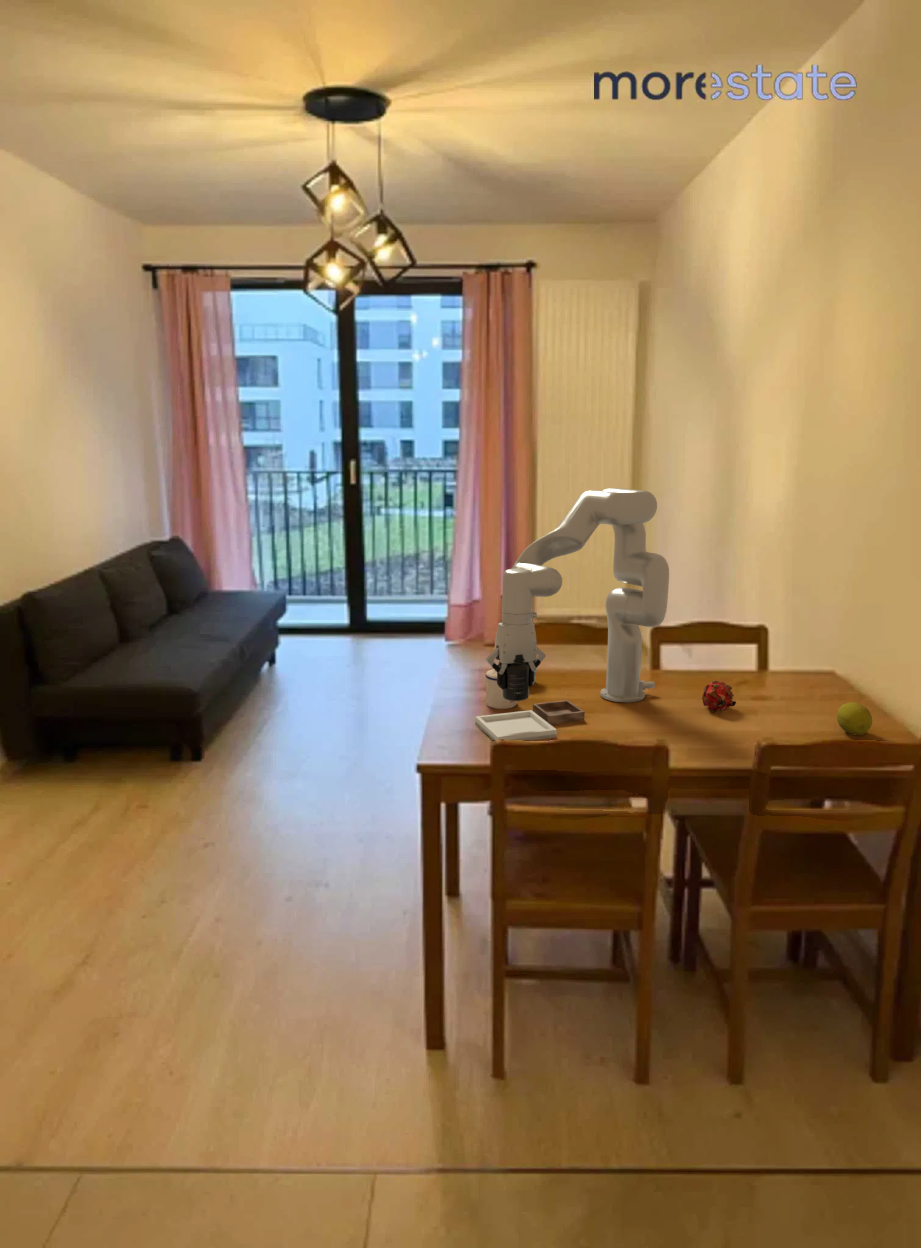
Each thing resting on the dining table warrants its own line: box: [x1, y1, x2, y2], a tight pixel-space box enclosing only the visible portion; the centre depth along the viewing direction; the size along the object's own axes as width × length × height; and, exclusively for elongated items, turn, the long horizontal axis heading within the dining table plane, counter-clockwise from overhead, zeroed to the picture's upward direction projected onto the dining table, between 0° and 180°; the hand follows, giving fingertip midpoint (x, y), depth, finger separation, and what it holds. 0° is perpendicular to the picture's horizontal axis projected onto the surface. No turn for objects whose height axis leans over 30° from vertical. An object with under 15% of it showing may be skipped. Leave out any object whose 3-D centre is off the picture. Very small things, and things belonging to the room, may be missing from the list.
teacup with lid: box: [485, 668, 518, 710], centre depth 256 cm, size 12×9×12 cm
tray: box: [474, 709, 558, 741], centre depth 235 cm, size 16×16×2 cm
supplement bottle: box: [502, 654, 530, 702], centre depth 232 cm, size 7×7×12 cm
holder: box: [532, 699, 586, 726], centre depth 245 cm, size 10×10×2 cm
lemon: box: [836, 701, 873, 736], centre depth 233 cm, size 11×8×8 cm
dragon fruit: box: [701, 680, 737, 714], centre depth 251 cm, size 8×8×12 cm
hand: (515, 686), depth 233 cm, fingers closed on supplement bottle, 6 cm apart
